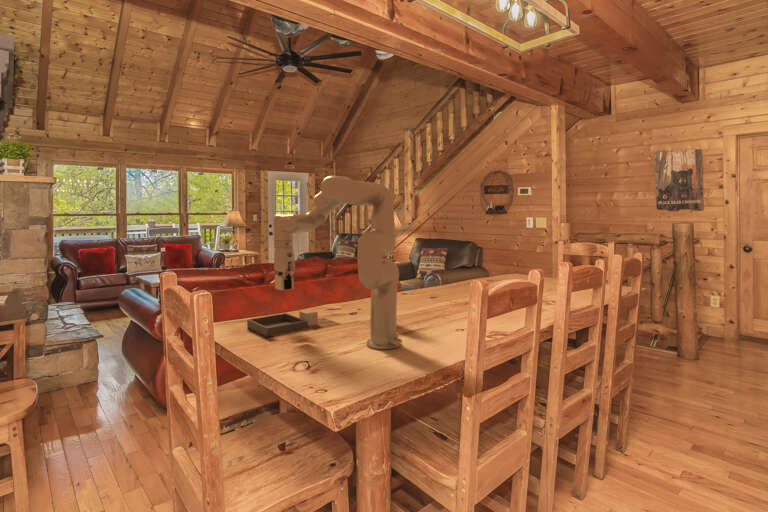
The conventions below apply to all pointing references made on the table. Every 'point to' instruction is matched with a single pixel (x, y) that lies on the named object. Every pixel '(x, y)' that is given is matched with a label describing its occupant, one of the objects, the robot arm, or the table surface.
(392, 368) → the table surface
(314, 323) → the beige cube
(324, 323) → the walnut board
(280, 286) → the peach cube
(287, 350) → the table surface
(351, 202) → the robot arm
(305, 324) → the charcoal bin
